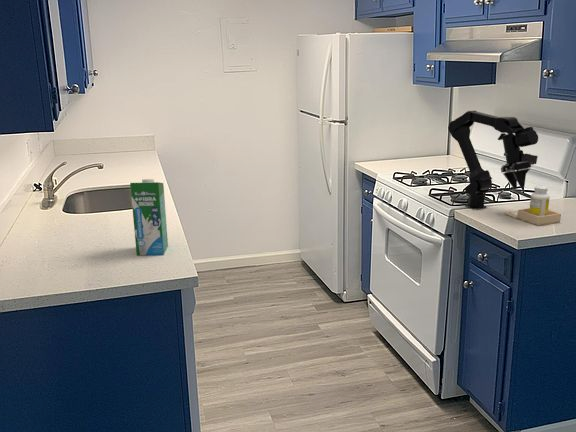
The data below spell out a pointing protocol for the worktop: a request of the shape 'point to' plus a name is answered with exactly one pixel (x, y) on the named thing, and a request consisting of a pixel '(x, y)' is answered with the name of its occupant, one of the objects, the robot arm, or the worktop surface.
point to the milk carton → (149, 217)
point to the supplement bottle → (539, 201)
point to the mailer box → (536, 217)
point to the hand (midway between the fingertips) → (519, 188)
